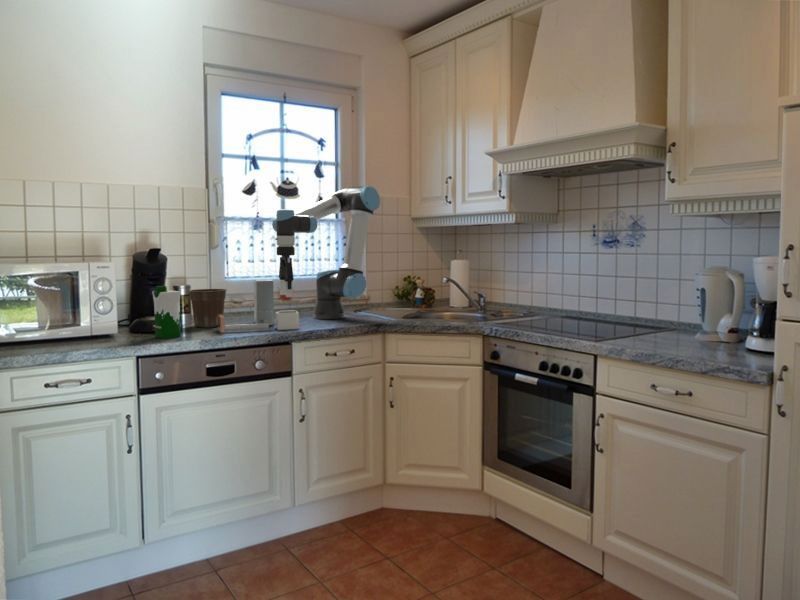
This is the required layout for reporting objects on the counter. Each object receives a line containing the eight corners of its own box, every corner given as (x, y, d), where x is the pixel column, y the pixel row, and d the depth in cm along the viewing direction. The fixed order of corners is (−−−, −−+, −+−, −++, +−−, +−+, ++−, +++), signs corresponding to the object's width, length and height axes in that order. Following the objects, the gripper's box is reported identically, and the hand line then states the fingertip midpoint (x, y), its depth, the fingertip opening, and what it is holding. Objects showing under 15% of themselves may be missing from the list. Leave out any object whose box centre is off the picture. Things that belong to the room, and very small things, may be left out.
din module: (296, 326, 267) (295, 309, 267) (299, 328, 262) (298, 311, 261) (275, 327, 264) (275, 310, 263) (278, 329, 259) (277, 312, 258)
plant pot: (188, 324, 275) (187, 288, 274) (226, 322, 281) (224, 287, 279) (190, 329, 260) (189, 291, 258) (229, 327, 266) (228, 290, 264)
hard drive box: (274, 325, 272) (273, 280, 270) (256, 326, 270) (255, 281, 268) (270, 321, 287) (269, 278, 285) (254, 321, 284) (253, 279, 282)
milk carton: (151, 337, 239) (149, 286, 237) (173, 334, 246) (171, 284, 244) (162, 339, 233) (160, 287, 231) (184, 336, 240) (182, 285, 238)
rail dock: (266, 327, 266) (266, 312, 265) (270, 331, 255) (270, 315, 254) (218, 329, 259) (218, 314, 258) (221, 333, 247) (220, 317, 247)
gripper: (271, 246, 270) (272, 293, 272) (282, 246, 247) (282, 298, 248) (288, 246, 273) (289, 293, 274) (300, 246, 249) (300, 298, 251)
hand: (286, 296), depth 261 cm, fingers open, 13 cm apart
